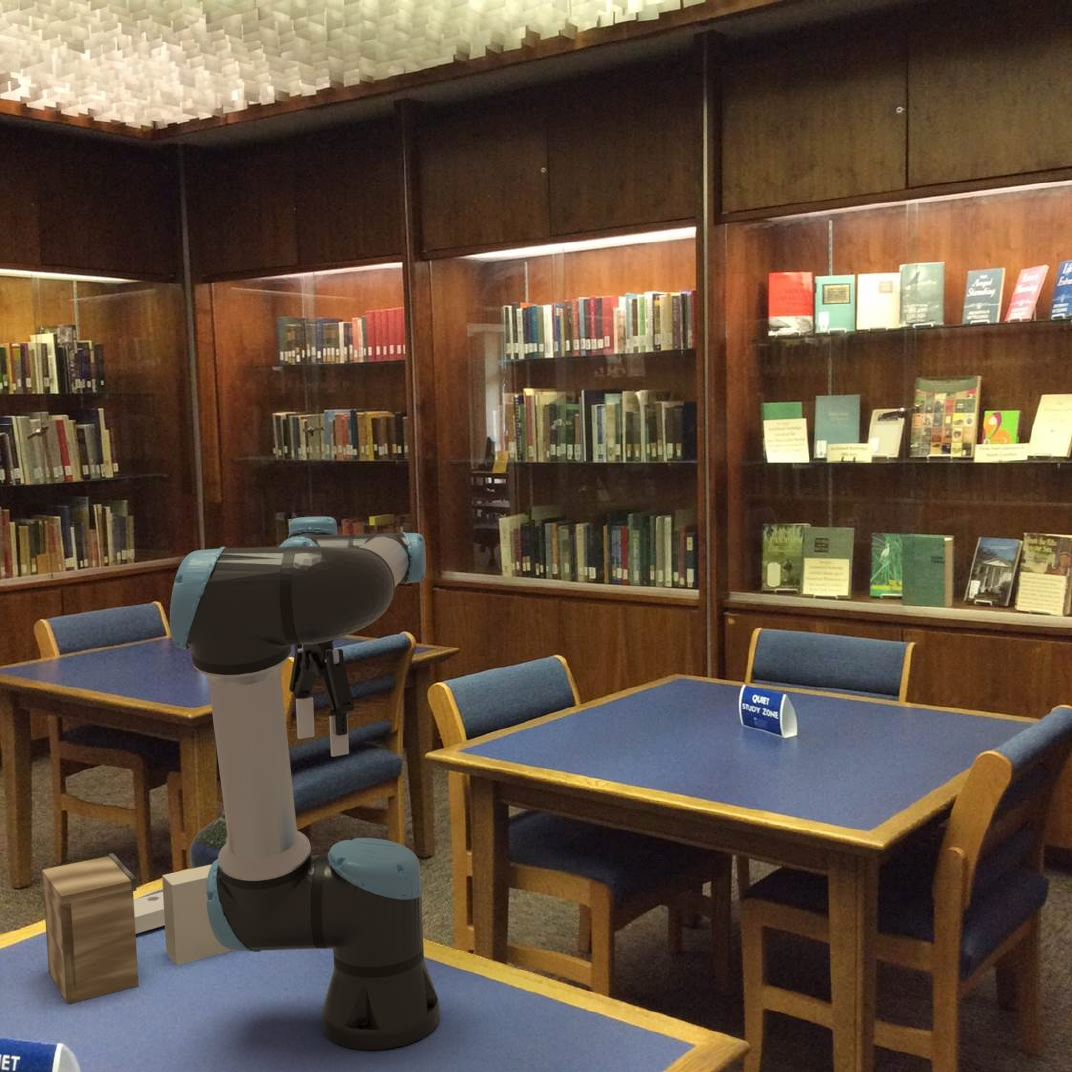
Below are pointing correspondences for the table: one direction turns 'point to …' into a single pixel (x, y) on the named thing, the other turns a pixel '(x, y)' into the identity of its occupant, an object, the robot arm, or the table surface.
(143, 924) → the bracket
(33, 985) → the table surface
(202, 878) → the tan cardboard carton
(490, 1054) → the table surface
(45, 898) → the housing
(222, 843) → the vase
